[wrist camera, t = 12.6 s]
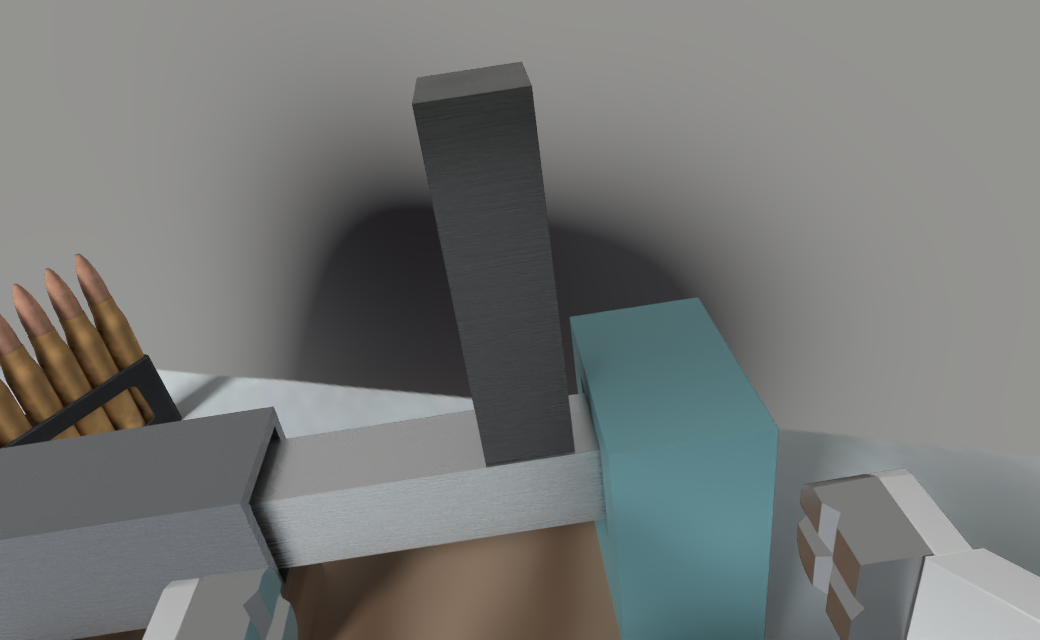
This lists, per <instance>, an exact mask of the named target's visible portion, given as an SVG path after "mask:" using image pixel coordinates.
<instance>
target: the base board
mask: <svg viewBox="0 0 1040 640" xmlns="http://www.w3.org/2000/svg"><path fill="white" fill-rule="evenodd" d="M288 602H290V603H291V606H292V608H293V610H294V613H295V617H296V622H297V626H298V640H621V637H620V633H619V629H618V624H617V620H616V615H615V611H614V606H613V602H612V598H611V593H610V589H609V584H608V580H607V576H606V571H605V567H604V562H603V558H602V554H601V549H600V545H599V540H598V536H597V532H596V527H595V523H594V521H588V522H582V523H575V524H569V525H562V526H556V527H549V528H543V529H536V530H530V531H523V532H517V533H510V534H504V535H497V536H491V537H484V538H478V539H471V540H465V541H459V542H452V543H446V544H439V545H433V546H426V547H420V548H413V549H407V550H400V551H394V552H387V553H381V554H374V555H368V556H361V557H355V558H348V559H342V560H336V561H329V562H323V563H316V564H310V565H303V566H297V567H296V568H295V572H294V576H293V581H292V585H291V589H290V593H289V598H288ZM146 629H147V628H144V629H137V630H131V631H125V632H118V633H112V634H105V635H99V636H92V637H86V638H79V639H73V640H142V639H143V637H144V634H145V632H146Z"/></svg>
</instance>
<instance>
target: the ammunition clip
mask: <svg viewBox="0 0 1040 640" xmlns="http://www.w3.org/2000/svg"><path fill="white" fill-rule="evenodd" d="M75 266H76V272H77V276H78V280H79V283H80V286H81V289H82V291H83V294H84V296H85V298H86V300H87V302H88V306H89V308H90V310H91V312H92V314H93V318H94V322H95V326H96V328H95V327H94V326H93V325H92V324H91V322H90V321H89V319H88V317H87V316H86V314H85V312H84V311H83V310H82V308H81V306H80V304H79V302H78V301H77V299H76V297H75V296H74V294H73V293H72V291H71V290H70V288H69V287H68V286H67V284H66V283H65V282H64V281H63V280H62V279H61V278H60V277H59V275H57V274H56V273H55V272H54V271H52V270H51V269H49V268H47V269H45V282H46V287H47V291H48V295H49V298H50V300H51V303H52V305H53V308H54V310H55V312H56V314H57V316H58V318H59V321H60V323H61V325H62V328H63V330H64V332H65V335H66V339H67V343H68V346H69V347H68V346H67V344H66V343H65V342H64V341H63V340H62V339H61V337H60V336H59V334H58V333H57V331H56V329H55V328H54V326H53V325H52V324H51V322H50V320H49V318H48V317H47V315H46V314H45V312H44V311H43V309H42V308H41V306H40V305H39V304H38V302H37V301H36V300H35V299H34V298H33V297H32V296H31V295H30V294H29V293H28V292H27V291H26V290H25V289H24V288H23V287H21V286H20V285H18V284H14V285H13V299H14V304H15V307H16V310H17V313H18V316H19V318H20V321H21V323H22V325H23V327H24V328H25V331H26V332H27V334H28V338H29V340H30V342H31V344H32V346H33V348H34V350H35V354H36V357H37V360H38V363H39V365H40V366H39V365H38V364H37V363H36V362H35V360H34V359H33V358H32V357H31V356H30V355H29V354H28V352H27V350H26V349H25V347H24V346H23V344H22V343H21V342H20V341H19V339H18V337H17V336H16V334H15V333H14V331H13V329H12V328H11V327H10V325H9V324H8V323H7V321H6V320H5V319H4V318H3V317H2V316H1V315H0V365H1V367H2V370H3V373H4V376H5V379H6V382H7V384H8V385H9V387H10V389H11V390H12V392H13V394H14V395H15V397H16V399H17V400H18V402H19V404H20V405H21V407H22V409H23V410H24V412H25V414H26V415H25V414H24V413H23V411H22V409H21V408H20V406H19V405H18V403H17V401H16V400H15V398H14V396H13V395H12V393H11V392H10V390H9V388H8V387H7V386H6V385H5V383H4V382H3V381H2V380H1V379H0V449H1V448H7V447H14V446H20V445H27V444H33V443H40V442H46V441H53V440H59V439H66V438H72V437H79V436H85V435H92V434H98V433H105V432H111V431H118V430H124V429H131V428H138V427H144V426H151V425H157V424H164V423H170V422H177V421H181V415H180V413H179V411H178V410H177V408H176V406H175V404H174V402H173V400H172V398H171V397H170V395H169V393H168V391H167V389H166V387H165V385H164V384H163V382H162V380H161V378H160V376H159V374H158V373H157V371H156V369H155V367H154V365H153V363H152V361H151V360H150V358H149V356H148V355H146V354H145V355H144V354H143V352H142V350H141V348H140V346H139V344H138V341H137V339H136V337H135V335H134V333H133V331H132V329H131V327H130V325H129V323H128V321H127V319H126V317H125V316H124V314H123V313H122V312H121V310H120V309H119V308H118V307H117V305H116V303H115V301H114V300H113V298H112V296H111V295H110V293H109V291H108V289H107V287H106V285H105V284H104V282H103V280H102V278H101V277H100V275H99V274H98V272H97V271H96V270H95V268H93V266H92V265H91V264H90V263H89V261H88V260H87V259H86V258H84V257H83V256H82V255H80V254H76V255H75ZM96 329H97V330H96ZM40 367H41V368H40ZM42 370H43V371H42Z"/></svg>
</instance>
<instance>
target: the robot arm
mask: <svg viewBox="0 0 1040 640" xmlns="http://www.w3.org/2000/svg"><path fill="white" fill-rule="evenodd" d="M800 504H801V506H802V508H803V509H804V511H805V513H806V516H805V517H804V518H803V519H802V520H801V521H800V522H799V523H798V532H797V542H798V548H799V553H800V558H801V561H802V564H803V566H804V569H805V572H806V574H807V576H808V578H809V580H810V582H811V584H812V586H814V587H815V588H817V589H818V590H820V591H822V592H823V593H825V594H826V595H828V597H827V605H826V612H827V614H828V616H829V618H830V620H831V622H832V624H833V625H834V627H835V629H836V631H837V633H838V635H839V637H840V639H841V640H1040V577H1039V576H1037V575H1035V574H1033V573H1031V572H1029V571H1027V570H1026V569H1024V568H1022V567H1020V566H1018V565H1016V564H1014V563H1012V562H1010V561H1008V560H1006V559H1004V558H1002V557H1000V556H998V555H996V554H994V553H992V552H990V551H988V550H987V549H985V548H981V549H973V548H972V547H971V546H970V544H969V543H968V542H967V541H966V540H965V538H964V537H963V536H962V535H961V533H960V532H959V531H958V530H957V528H956V527H955V526H954V525H953V524H952V522H951V521H950V520H949V519H948V517H947V516H946V515H945V514H944V512H943V511H942V510H941V509H940V508H939V506H938V505H937V504H936V503H935V501H934V500H933V499H932V498H931V497H930V495H929V494H928V493H927V492H926V490H925V489H924V488H923V487H922V485H921V484H920V483H919V482H918V481H917V479H916V478H915V477H914V476H913V474H912V473H911V472H909V471H908V470H906V469H904V468H901V469H895V470H889V471H883V472H877V473H871V474H869V475H868V474H863V475H857V476H851V477H845V478H839V479H833V480H827V481H821V482H815V483H809V484H805V485H804V487H803V488H802V490H801V497H800ZM280 587H281V581H280V579H279V577H278V575H277V573H276V571H275V569H271V568H265V569H258V570H250V571H242V572H234V573H227V574H219V575H211V576H204V577H200V578H192V579H185V580H177V581H172V582H171V583H170V584H169V585H168V586H167V587H166V588H165V589H164V590H163V592H162V594H161V596H160V599H159V601H158V604H157V606H156V608H155V611H154V613H153V615H152V618H151V620H150V622H149V625H148V627H147V629H146V632H145V634H144V637H143V639H142V640H298V626H297V622H296V617H295V613H294V610H293V608H292V606H291V603H290V602H288V601H286V600H285V599H283V598H281V597H279V592H280Z"/></svg>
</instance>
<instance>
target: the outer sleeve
mask: <svg viewBox="0 0 1040 640" xmlns="http://www.w3.org/2000/svg"><path fill="white" fill-rule="evenodd" d="M283 439H286V438H285V435H284V432H283V430H282V427H281V425H280V422H279V419H278V417H277V414H276V412H275V409H274V407H268V408H261V409H255V410H248V411H242V412H235V413H229V414H222V415H216V416H209V417H203V418H196V419H190V420H183V421H177V422H170V423H164V424H157V425H151V426H144V427H138V428H131V429H124V430H118V431H111V432H105V433H98V434H92V435H85V436H79V437H72V438H66V439H59V440H53V441H46V442H40V443H33V444H27V445H20V446H14V447H7V448H1V449H0V640H73V639H79V638H86V637H92V636H99V635H105V634H112V633H118V632H125V631H131V630H137V629H144V628H147V627H148V625H149V622H150V620H151V618H152V615H153V613H154V611H155V608H156V606H157V604H158V601H159V599H160V596H161V594H162V592H163V590H164V589H165V588H166V587H167V586H168V585H169V584H170V583H171V582H172V581H177V580H185V579H192V578H200V577H204V576H211V575H219V574H227V573H234V572H242V571H250V570H258V569H265V568H271V569H275V571H276V573H277V575H278V577H279V579H280V581H281V587H280V592H279V597H281V598H283V599H285V600H286V601H288V598H289V593H290V589H291V585H292V581H293V576H294V572H295V568H296V567H290V568H284V569H278V568H277V566H276V564H275V561H274V559H273V557H272V555H271V552H270V550H269V548H268V546H267V543H266V541H265V539H264V537H263V534H262V532H261V530H260V528H259V525H258V523H257V521H256V519H255V516H254V514H253V512H252V510H251V507H250V505H249V501H250V498H251V495H252V492H253V489H254V486H255V483H256V480H257V477H258V474H259V471H260V468H261V465H262V462H263V459H264V456H265V453H266V450H267V447H268V444H269V442H270V441H277V440H283Z"/></svg>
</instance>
